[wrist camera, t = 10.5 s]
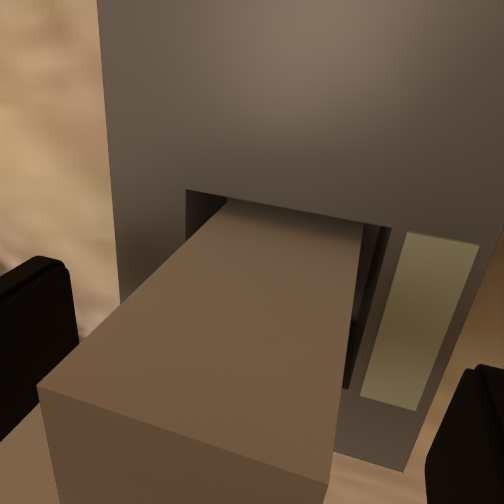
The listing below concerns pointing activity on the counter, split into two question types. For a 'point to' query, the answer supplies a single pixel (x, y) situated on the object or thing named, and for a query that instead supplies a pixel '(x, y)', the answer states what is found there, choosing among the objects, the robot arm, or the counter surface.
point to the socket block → (322, 162)
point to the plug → (213, 370)
